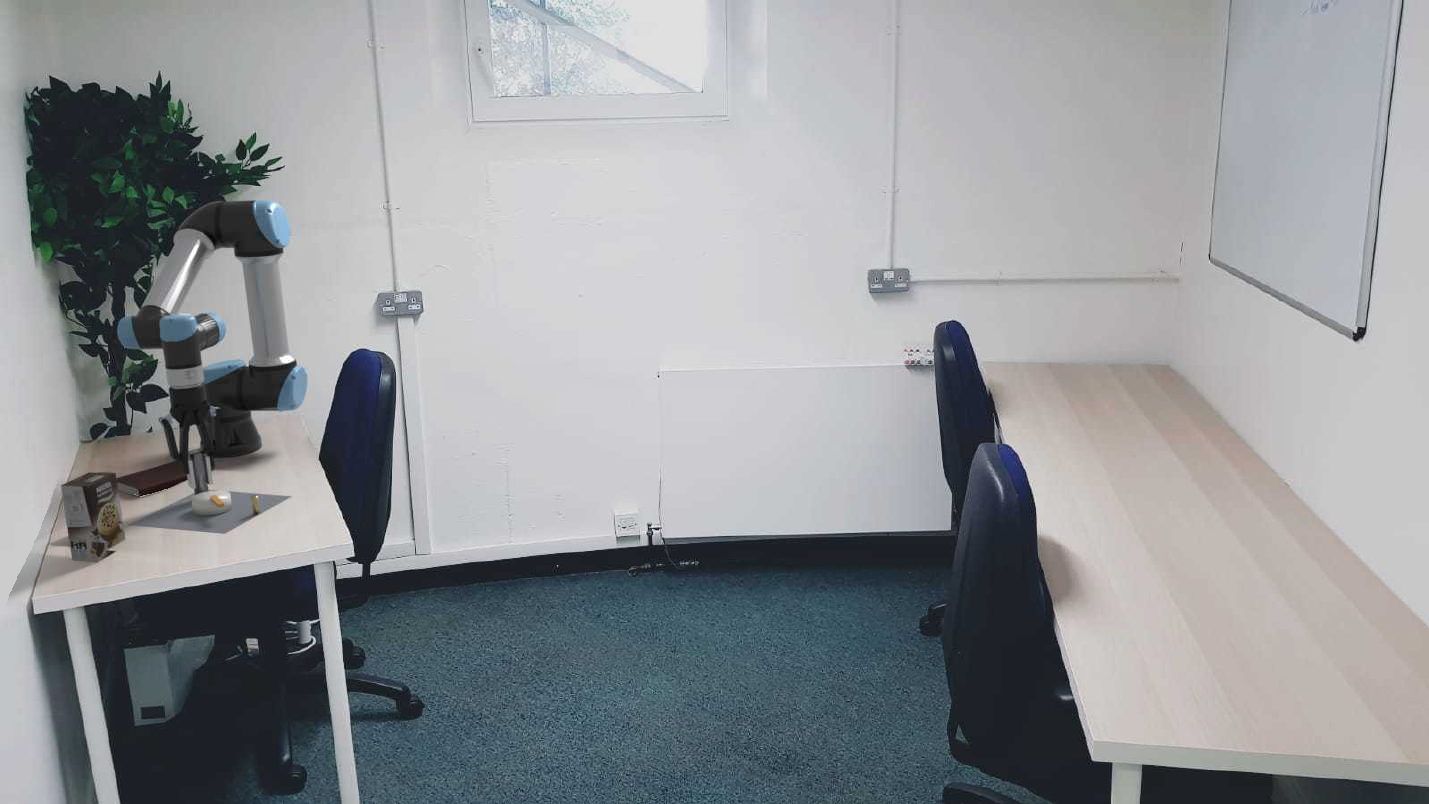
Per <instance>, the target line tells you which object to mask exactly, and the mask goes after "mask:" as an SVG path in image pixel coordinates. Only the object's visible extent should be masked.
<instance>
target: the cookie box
mask: <svg viewBox="0 0 1429 804" xmlns="http://www.w3.org/2000/svg"><path fill="white" fill-rule="evenodd" d="M117 478H118V477H117V473H116V472H92V471H91V472H87V473H85V474H83V475H80V476H78V477H77V478H73V479H72V480H70V481H67V482H65V483H63V484H60V488H61V495H62V496H61V497H62V503H63V507H64V515H65V521H66V522H65V523H66V528H67V535H68V541H69V542H68V543H69V549H70V555H71V556H70V557H71V560H72V561H83V562H84V561H85V562H95V563H96V562H97V563H98V562H101V561H102V560H104V559H106V558H108V557H109V556H111V555H114V554H115V553H116V552H117V550H110V549H111V548H114V547H115V546H117V545H120V543H122V542H124V541H126V533H125V525H124V520H123V519H124V518H123V513H122V507H121V499H120V498H121V497H120V493H119V492H120V491H118V485H117Z"/></svg>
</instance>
